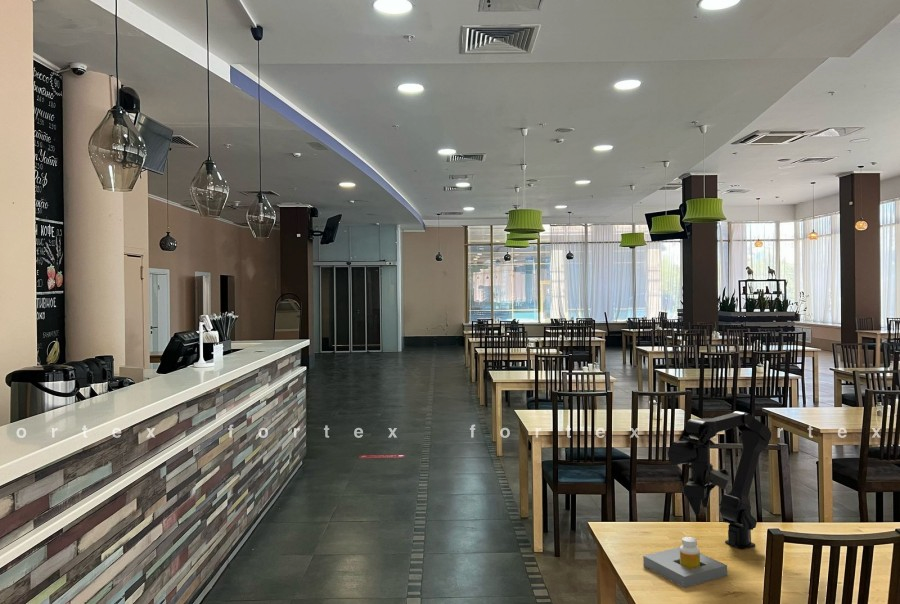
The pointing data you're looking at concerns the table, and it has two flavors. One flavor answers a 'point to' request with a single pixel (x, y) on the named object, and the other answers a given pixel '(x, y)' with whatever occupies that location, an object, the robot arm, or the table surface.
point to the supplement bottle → (689, 553)
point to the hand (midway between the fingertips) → (701, 511)
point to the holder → (684, 568)
